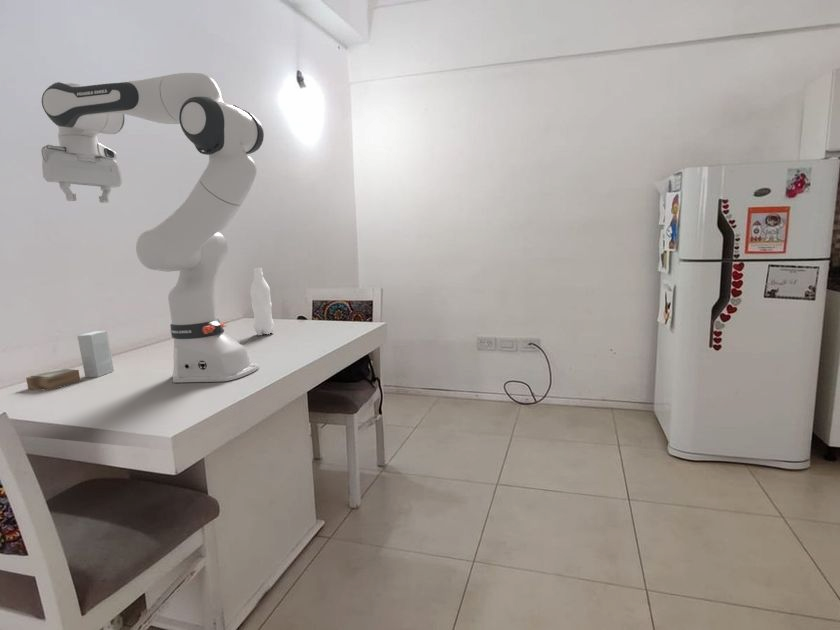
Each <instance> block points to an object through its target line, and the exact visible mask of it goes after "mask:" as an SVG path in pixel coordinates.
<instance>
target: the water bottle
mask: <svg viewBox="0 0 840 630" xmlns="http://www.w3.org/2000/svg"><path fill="white" fill-rule="evenodd" d="M252 271H253V280H252V283H251V286H250V289H249V292H250V299H251V309H252V312H253V317H254V319H253V320H254V321H253V322H254V323H253V328H254V332H255V333H256V335H258V336H259V335H261V336H263V334H269V335H271V334H270V333H272V332H273V333H274V329H275V323H274V320H273V315H272V306H273V304H272V300H271V299H272V297H271V288H270V285H269V284H268V282H267V281H266V279H265V278H264V272H263V268H262V267H257V268H256V267H254V268H253V270H252ZM273 333H272V334H273Z"/></svg>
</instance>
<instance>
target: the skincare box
mask: <svg viewBox="0 0 840 630" xmlns="http://www.w3.org/2000/svg"><path fill="white" fill-rule="evenodd" d="M77 340H78V345H79V346H78V347H79V350H80V351H79V352H80V355H81V361H82V366H83V367H82V368H83V373H84V377H85V378H99V377H102V376H105V375H107V374H110V373H112V372H114V371H115V369H114V364H113V358H112V352H111V347H110V341H109V335H108V331H107V330H94V331H90V332H87V333H83V334H79V335H78V334H77Z"/></svg>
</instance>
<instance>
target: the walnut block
mask: <svg viewBox="0 0 840 630" xmlns="http://www.w3.org/2000/svg"><path fill="white" fill-rule="evenodd" d="M25 379H26V384H27V388H28V390H39V389H44V391H52V390H55V389H54V388H56V389H58V388H57V387H59V388H61V387H60V386H62V387H65V386H67V384H69V385H71V383H72V384H75V383H78V382H81V375H80V371H79V369H71V368H70V369H69V368H68V369H67V368H66V369H64V368H63V369H62V368H55V369H51V370H48V371H43V372H40V373H36V374H33V375H30V376H28V377H26V378H25ZM74 382H75V383H74ZM64 385H65V386H64ZM51 389H52V390H51Z"/></svg>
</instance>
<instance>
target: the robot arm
mask: <svg viewBox="0 0 840 630" xmlns="http://www.w3.org/2000/svg"><path fill="white" fill-rule="evenodd" d="M41 104H42V108H43V111H44V112H45V115H47V117H48V118H49V120H51V122H52V123H54V124H55V126H57V127H58V134H57V136H58V143H59V145H53V144H46V145H44V146H42V148H41V149H40V150H41V151H40V153H41V154H40V155H41V158H42V165H41V166H42V176H43V179H44V180H45V181H46V182H48V183H59V188H60V190H61V191H62V192H63V193H64V194H65V198H66V201H68V202H76V201H77V200H78V199H77V194H76V193H73V191H72V190H71V185H78V186H89V187H100V191H102V193H101V195H100V196H98V199H99V203H102V204H106V203H107V204H108V203H109V202H110V201H109V196H110V194H111V191H112V189H111V188H113V189H114V188H120V187H121V186H122V184H123V179H122V173H121V169H120V164H119V163H118V161H116V160H117V159H118V154H117V152H116V151H114V150H113V149H110V148H109V147H107V146H105V145H103V144H102V143H100V142H99V138H98V134H104V135H116V134H118V133H119V132H121V130H122V129H123V127H124V125H125V120H126V119H125V115H127V116H132V117H135V118H139V119H143V120H147V121H151V122H154V123H158V124H164V125H180V127H181V128H180V129H182V132H183V134H184V135H185V136H186V137H187V139H188V140H189V141H190V142H191V143H192V144H193V145H194V147H195V149H196V150H197V151H198V152H199V154H202V155H207V156H208V164H207V165H206V168H205V170H204V171H203V172H202V173H201V176H200V177H199V178H198V181H197V182H196V184H195V185H194V187H193V188H192V190H191V192H190V193H189V195H188V196H187V198H186V199H185V200H184V201H183V203H182V204H181V205H180V206H179V207H178V208H177V209H176V210H175V211H173V212H172V213H171V214H170V215H169V216H168V217H167V218H166V219H164V220H162V222H160V223H159V224H157V225H156V226H154V227H153V228H150V229H148V230H146V231H143V232H142V233H141V234H140V235H139V236H138V239H137V241H136V244H135V252H136V256H137V258H138V260H139V262H140V263H141V264H142V266H144V267H145V268H147V269H148V270H153V271H159V272H167V273H170V272H178V271H179V275H178V279H177V281H176V284H175V286H174V287H173V288H171V290H170V291H169V294H168V297H167V298H168V299H167V300H168V306H169V313H170V320H171V324H170V334H171V338H172V339H173V370H172V376H171V377H172V383H210V382H212V383H215V382H229V381H232V380H233V381H234V380H237V379H240V378H242V377H245V376H247V375H250V374H252V373H255V372H256V371H257V370H259V368H260V366H259V363H254V362H250V358H249V354H248V351H247V348H246V347H245V346H244V345H242V344H240V343H239V342H238V341H237V340H235V339H233V338H232V337H231V336H230V335H228V334H227V333H225V329H224V328H225V327H227V325H226V324H227V322H222V323H221V321H220V320H219V318H218V317H217V315H218V314H217V309H216V296H215V287H216V280H217V276H218V271H219V268H220V266H221V265H222V263H223V262H224V260H225V259H226V257H227V255H228V249H229V248H228V242H227V240H226V237H225V236H224V235H223V234H222V233H221V232H222V231H223V230H225V229H226V228H227V227H228V226H229V224H230V222H231V221H232V219H233V218H234V216H235V215H236V214H237V212H238V211H239V208H241V206H242V205H243V203H244V201H245V200H246V198H247V196H248V194H249V192H250V190H251V188H252V186H253V183H254V180H255V178H256V176H257V165H256V163H255V161H254V160H253V158H252V157H251V156H250V155H249V154H254V153H255V152H256V151H258V150H259V149H260V148H261V146H262V144H263V142H264V138H265V135H264V128H263V126H262V123H261V122H260V120H258V118H256V117H255V116H254V115H253V114H252V113H250V112H249V111H247V110H246V109H242V108H240V107H239V106H237V105H235V104H230V103H227V102H224V101H223V98H222V93H221V90H220V88H219V86H218V84H217V83H216V81H215V80H214V79H213V78H212V77H211V76H209V75H207V74H204V73H197V72H180V73H179V72H178V73H171V74H167V75H161V76H155V77H152V78H144V79H139V80H132V81H131V80H130V81H122V82H112V83H100V84H93V85H92V84H91V85H85V86H83V85H81V84H78V83H63V82H59V81H58V82H53V83H52V84H51V85H50V86H48V87H47V88H46V89H45V91H44V92H43V93H42V97H41Z"/></svg>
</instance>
